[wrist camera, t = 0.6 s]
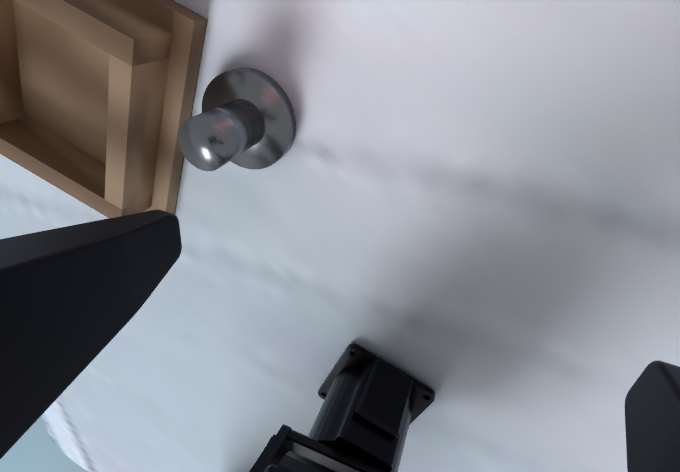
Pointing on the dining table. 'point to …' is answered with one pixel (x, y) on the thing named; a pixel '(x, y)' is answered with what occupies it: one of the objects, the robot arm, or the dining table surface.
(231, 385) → the dining table surface
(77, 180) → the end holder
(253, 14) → the dining table surface
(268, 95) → the knob
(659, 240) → the dining table surface
